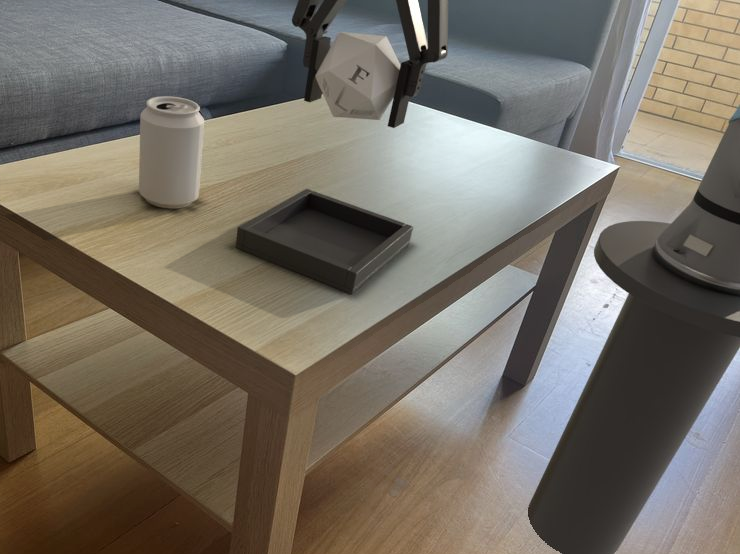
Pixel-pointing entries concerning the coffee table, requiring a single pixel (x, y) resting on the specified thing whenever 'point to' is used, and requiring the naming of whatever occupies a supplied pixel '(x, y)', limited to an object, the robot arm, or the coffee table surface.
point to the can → (170, 151)
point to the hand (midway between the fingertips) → (353, 111)
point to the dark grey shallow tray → (325, 239)
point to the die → (359, 76)
